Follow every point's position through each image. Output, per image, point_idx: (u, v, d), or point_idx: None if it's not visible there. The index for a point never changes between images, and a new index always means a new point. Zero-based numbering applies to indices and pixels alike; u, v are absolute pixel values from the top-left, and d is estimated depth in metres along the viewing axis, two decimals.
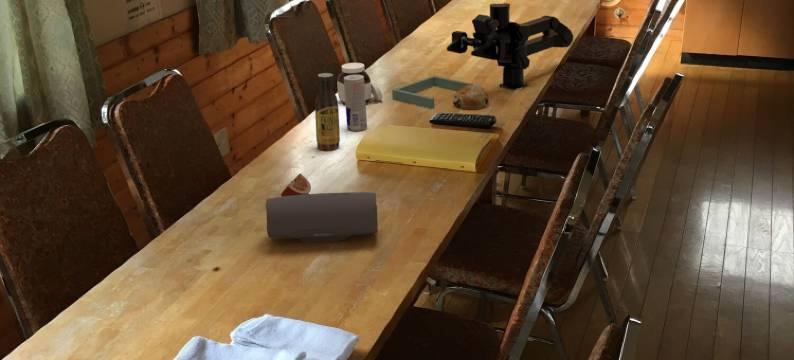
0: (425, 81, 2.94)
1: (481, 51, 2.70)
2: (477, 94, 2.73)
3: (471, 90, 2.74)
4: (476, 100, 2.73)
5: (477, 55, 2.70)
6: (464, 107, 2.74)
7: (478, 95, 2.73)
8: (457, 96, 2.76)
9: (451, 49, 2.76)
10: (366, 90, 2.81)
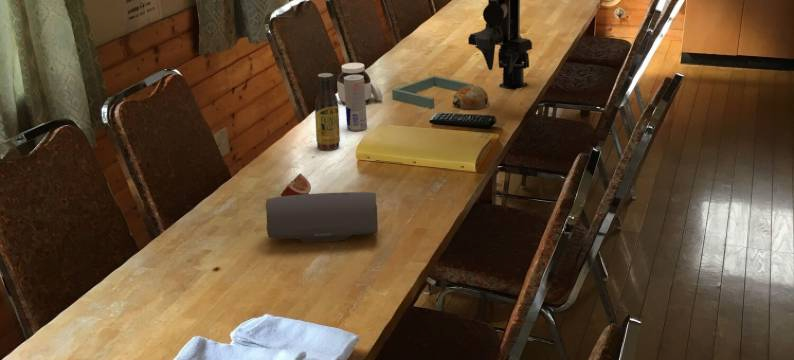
0: (425, 81, 2.94)
1: (511, 63, 2.62)
2: (477, 94, 2.73)
3: (471, 90, 2.74)
4: (476, 100, 2.73)
5: (512, 66, 2.64)
6: (464, 107, 2.74)
7: (477, 95, 2.73)
8: (457, 96, 2.76)
9: (491, 64, 2.68)
10: (366, 90, 2.81)
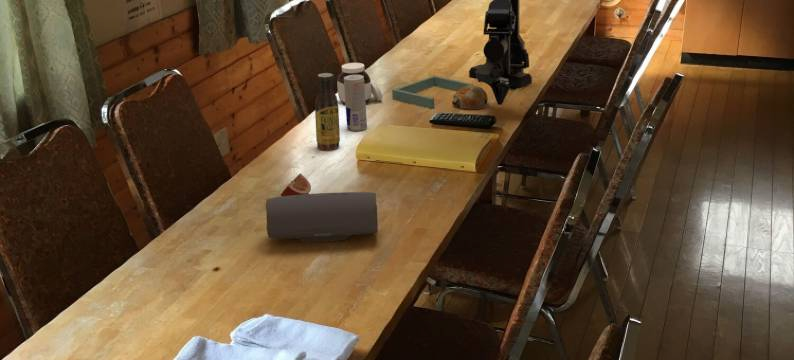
0: (425, 81, 2.94)
1: (503, 95, 2.68)
2: (476, 94, 2.73)
3: (471, 90, 2.74)
4: (475, 100, 2.73)
5: (504, 98, 2.70)
6: (463, 107, 2.74)
7: (477, 95, 2.73)
8: (456, 96, 2.76)
9: None
10: (366, 90, 2.81)
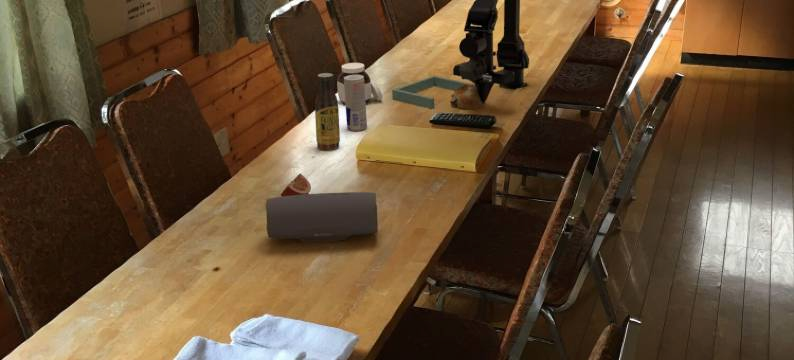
0: (425, 81, 2.94)
1: (486, 92, 2.72)
2: (474, 93, 2.74)
3: (469, 89, 2.74)
4: (473, 99, 2.73)
5: (487, 95, 2.74)
6: (461, 106, 2.74)
7: (475, 94, 2.73)
8: (454, 95, 2.76)
9: None
10: (366, 90, 2.81)
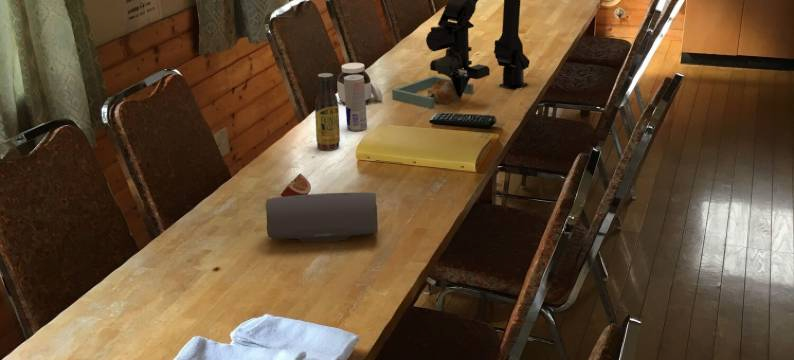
0: (425, 81, 2.94)
1: (462, 86, 2.78)
2: (451, 88, 2.79)
3: (445, 84, 2.80)
4: (450, 94, 2.79)
5: (463, 89, 2.79)
6: (438, 101, 2.80)
7: (451, 89, 2.79)
8: (431, 91, 2.81)
9: None
10: (366, 90, 2.81)
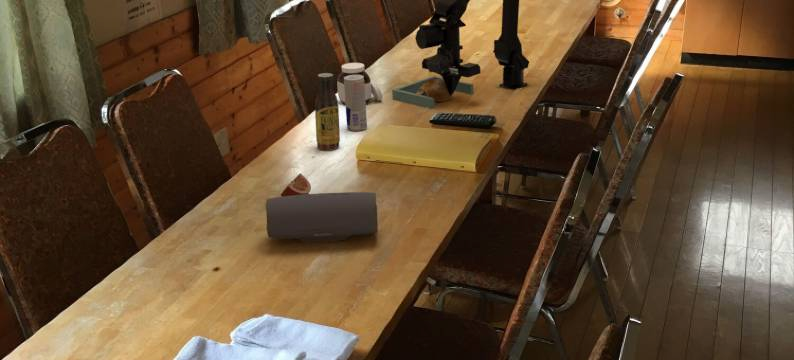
0: (425, 81, 2.94)
1: (454, 84, 2.80)
2: (442, 86, 2.82)
3: (436, 83, 2.82)
4: (441, 92, 2.81)
5: (455, 87, 2.82)
6: None
7: (442, 88, 2.81)
8: (422, 89, 2.84)
9: None
10: (366, 90, 2.81)
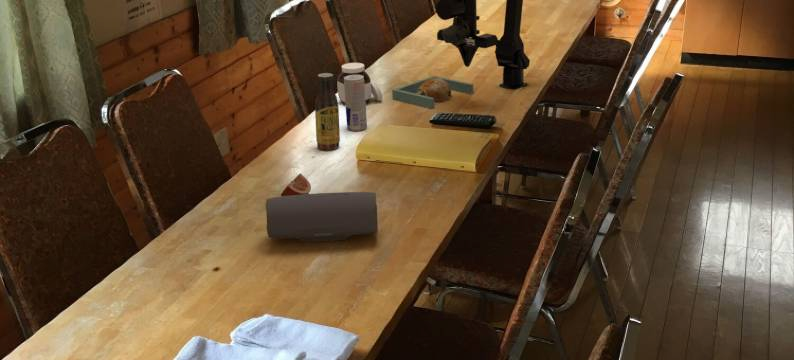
0: None
1: (470, 56, 2.72)
2: (440, 86, 2.82)
3: (435, 82, 2.83)
4: (440, 92, 2.81)
5: (471, 60, 2.74)
6: None
7: (441, 87, 2.82)
8: (421, 89, 2.84)
9: None
10: (366, 90, 2.81)
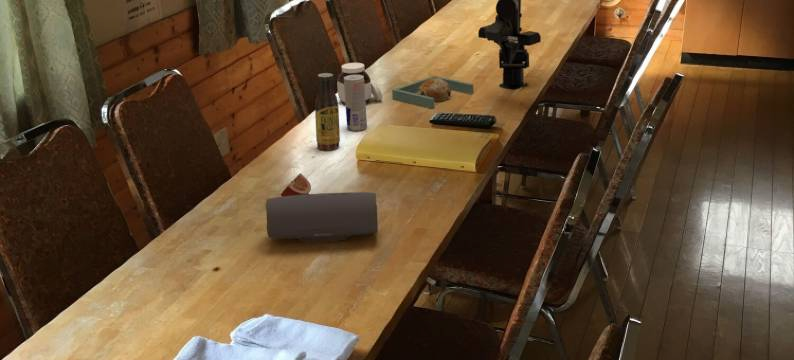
0: None
1: (512, 54, 2.71)
2: (440, 86, 2.82)
3: (435, 82, 2.82)
4: (439, 92, 2.81)
5: (513, 57, 2.73)
6: None
7: (441, 87, 2.82)
8: (421, 89, 2.84)
9: None
10: (366, 90, 2.81)
